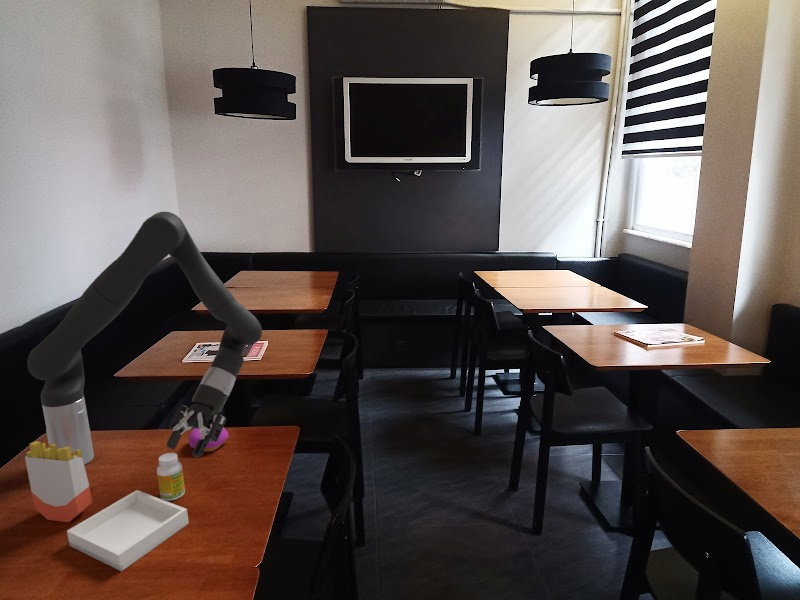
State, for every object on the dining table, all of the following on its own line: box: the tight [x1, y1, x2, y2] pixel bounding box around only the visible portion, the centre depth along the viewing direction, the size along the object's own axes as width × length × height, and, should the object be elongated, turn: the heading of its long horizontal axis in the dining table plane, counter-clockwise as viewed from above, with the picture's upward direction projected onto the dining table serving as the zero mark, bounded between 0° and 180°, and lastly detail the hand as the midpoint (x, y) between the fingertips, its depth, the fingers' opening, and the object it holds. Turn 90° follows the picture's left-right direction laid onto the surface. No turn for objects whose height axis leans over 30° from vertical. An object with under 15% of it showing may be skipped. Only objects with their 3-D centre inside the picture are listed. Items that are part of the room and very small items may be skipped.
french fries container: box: [24, 440, 93, 523], centre depth 120 cm, size 5×11×18 cm, turn 78°
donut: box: [188, 427, 229, 453], centre depth 152 cm, size 10×10×5 cm
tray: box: [66, 489, 189, 572], centre depth 115 cm, size 16×16×4 cm
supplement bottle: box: [156, 452, 186, 502], centre depth 128 cm, size 5×5×10 cm
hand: (182, 452), depth 130 cm, fingers open, 8 cm apart
